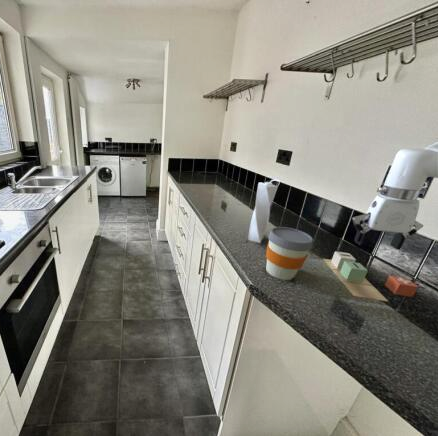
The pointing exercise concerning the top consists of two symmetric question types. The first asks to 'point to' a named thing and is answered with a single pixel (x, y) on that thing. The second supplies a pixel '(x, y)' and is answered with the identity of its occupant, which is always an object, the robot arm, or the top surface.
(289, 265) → the reusable coffee cup
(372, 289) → the word mat
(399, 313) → the top surface
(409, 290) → the orange red cube
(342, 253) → the white cube
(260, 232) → the twisted white column
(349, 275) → the green cube
